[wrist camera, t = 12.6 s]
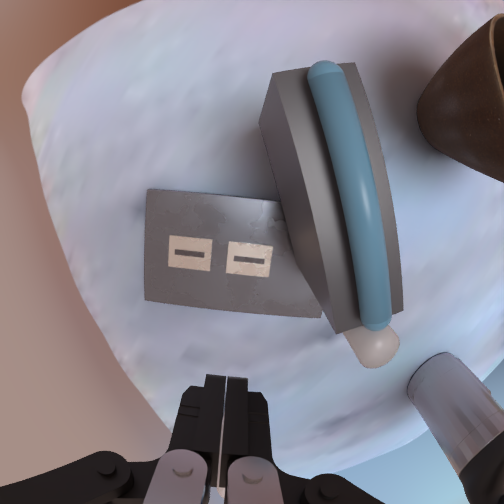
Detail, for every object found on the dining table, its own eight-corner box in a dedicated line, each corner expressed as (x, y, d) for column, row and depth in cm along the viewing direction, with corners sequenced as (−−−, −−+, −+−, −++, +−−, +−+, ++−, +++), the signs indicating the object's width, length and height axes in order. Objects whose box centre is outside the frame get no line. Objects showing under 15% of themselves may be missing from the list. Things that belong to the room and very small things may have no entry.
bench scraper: (340, 273, 27) (416, 359, 13) (300, 285, 27) (349, 385, 13) (302, 114, 23) (367, 50, 9) (258, 123, 23) (276, 59, 9)
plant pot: (369, 144, 25) (485, 126, 10) (400, 38, 22) (486, -20, 6) (464, 205, 27) (567, 234, 11) (486, 106, 23) (576, 96, 8)
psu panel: (337, 209, 27) (342, 211, 25) (317, 313, 29) (321, 319, 28) (151, 188, 26) (146, 189, 24) (148, 295, 28) (143, 301, 27)
